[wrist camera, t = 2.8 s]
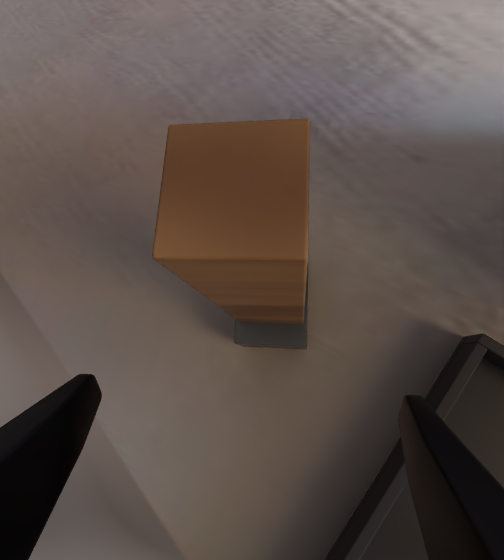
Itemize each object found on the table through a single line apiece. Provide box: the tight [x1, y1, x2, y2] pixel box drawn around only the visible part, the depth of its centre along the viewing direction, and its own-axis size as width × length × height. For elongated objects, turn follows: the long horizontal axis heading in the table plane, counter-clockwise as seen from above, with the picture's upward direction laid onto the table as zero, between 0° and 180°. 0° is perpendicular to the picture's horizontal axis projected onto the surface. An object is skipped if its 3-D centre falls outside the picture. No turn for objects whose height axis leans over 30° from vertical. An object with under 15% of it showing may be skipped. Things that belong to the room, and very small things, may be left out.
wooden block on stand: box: [152, 119, 310, 349], centre depth 15 cm, size 6×4×15 cm, turn 177°
